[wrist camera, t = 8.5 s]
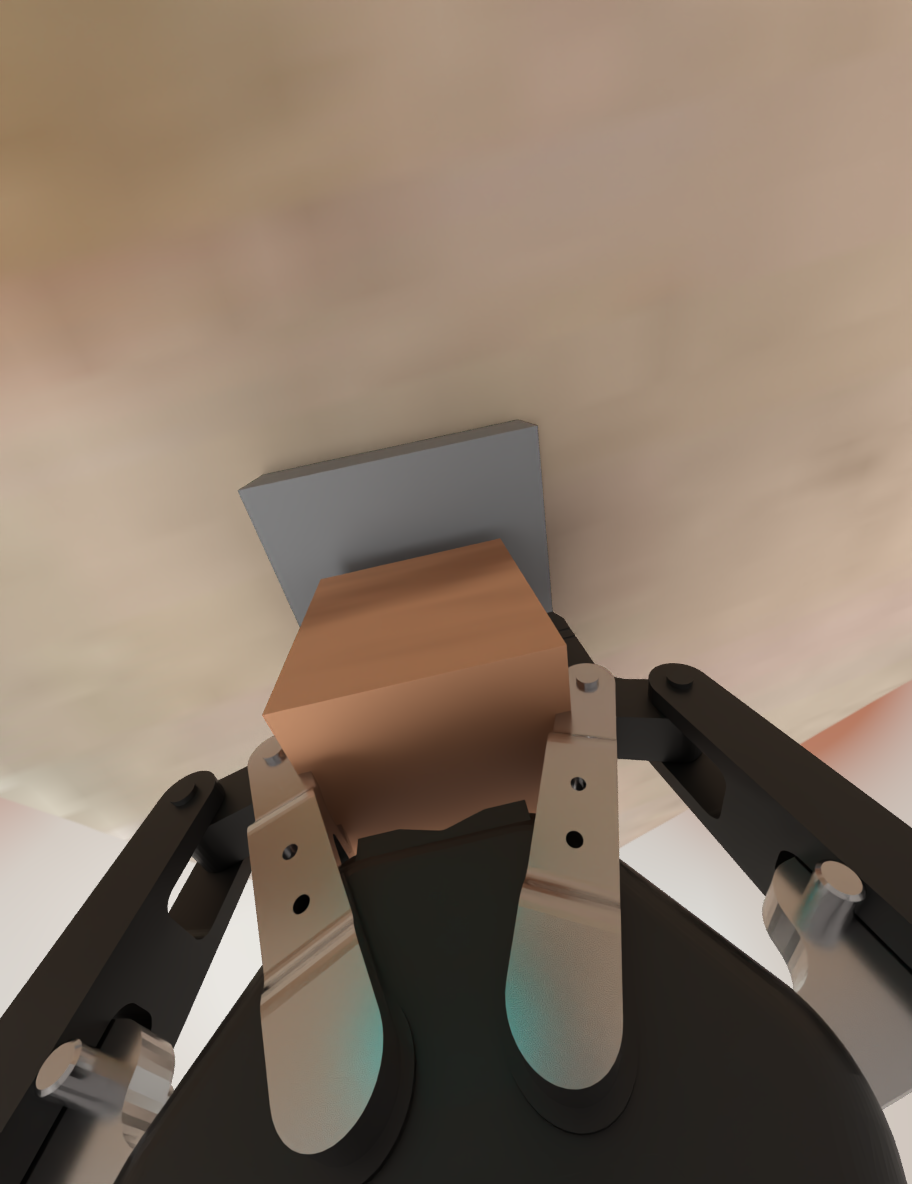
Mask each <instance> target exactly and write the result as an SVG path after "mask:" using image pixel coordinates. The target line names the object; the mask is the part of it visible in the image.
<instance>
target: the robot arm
mask: <svg viewBox="0 0 912 1184" xmlns="http://www.w3.org/2000/svg"><path fill="white" fill-rule="evenodd" d="M547 614H548V616H549V617H550V619H551V621H552V622H553V624H554V626H555V627H556V629H557V630H558V632H559V634H560V635H561V637H562V638H563V640H564V642H565V643H566V645H567V658H568V672H569V685H570V699H571V710H570V711H566V712H562V713H558V714H556V715H555V722H554V729H553V732H552V731H550V732H549V734H548V739H547V745H546V751H545V758H544V764H543V771H542V778H541V784H540V791H539V797H538V804H537V810H536V813H529V812H528V808H527V805H526V801H525V800H521V801H516V802H512V803H508V804H504V805H499V806H495V807H491V808H487V809H483V810H481V811H479V812H478V813H476V814H474V815H472V816H470V817H468V818H466V819H464V820H462V821H460V822H458V823H456V824H455V825H453V826H451V827H449V828H447V829H444V830H410V829H397V830H393V831H389V832H385V833H380V834H376V835H372V836H368V837H363V838H359V839H358V844H357V854H356V855H355V853H354V851H353V848H352V846H351V843H350V840H349V838H348V835H347V833H346V831H345V830H344V828H343V826H342V824H339V825H336V823H335V822H334V820H333V818H332V816H331V815H330V813H329V811H328V808H327V806H326V804H325V801H324V799H323V796H322V793H321V790H320V787H319V784H318V782H317V781H316V779H315V777H314V775H313V774H312V772H311V771H309V772H305V773H301V774H297V772H296V771H295V769H294V767H293V766H292V764H291V762H290V761H289V759H288V757H287V756H286V754H285V752H284V751H283V749H282V747H281V746H280V744H279V742H278V741H277V739H276V737H275V736H272V737H270V738H269V739H267V740H265V741H264V742H263V743H262V744H260V745H259V746H258V747H257V748H256V749H255V751H254V752H253V753H252V755H251V756H250V758H249V761H248V766H246V767H245V768H243V769H241V770H239V771H237V772H235V773H232V774H230V775H228V776H226V777H224V778H222V779H220V780H217V778H216V777H215V776H214V774H213V773H211V772H209V771H199V772H195V773H192V774H190V775H188V776H186V777H184V778H182V779H181V780H179V781H178V782H176V783H175V784H174V785H173V786H171V787H170V788H169V789H168V790H167V791H166V792H165V793H164V795H163V796H162V797H161V798H160V800H159V801H158V802H157V804H156V805H155V807H154V808H153V809H152V811H151V812H150V813H149V815H148V816H147V818H146V819H145V820H144V822H143V823H142V824H141V826H140V827H139V829H138V830H137V831H136V833H135V834H134V835H133V837H132V838H131V840H130V841H129V842H128V844H127V845H126V847H125V848H124V849H123V851H122V852H121V853H120V855H119V856H118V857H117V859H116V860H115V862H114V863H113V864H112V866H111V867H110V868H109V870H108V871H107V873H106V874H105V876H104V877H103V878H102V880H101V881H100V882H99V884H98V885H97V886H96V888H95V889H94V891H93V892H92V893H91V895H90V896H89V897H88V899H87V900H86V902H85V903H84V904H83V906H82V907H81V908H80V910H79V911H78V913H77V914H76V915H75V917H74V918H73V919H72V921H71V922H70V924H69V925H68V926H67V928H66V929H65V930H64V932H63V933H62V935H61V936H60V937H59V939H58V940H57V941H56V943H55V944H54V945H53V947H52V948H51V950H50V951H49V952H48V954H47V955H46V957H45V958H44V959H43V961H42V962H41V963H40V965H39V966H38V967H37V969H36V970H35V972H34V973H33V974H32V976H31V977H30V979H29V980H28V981H27V983H26V984H25V985H24V987H23V988H22V989H21V991H20V992H19V994H18V995H17V996H16V998H15V999H14V1000H13V1002H12V1003H11V1005H10V1006H9V1007H8V1009H7V1010H6V1012H5V1013H4V1014H3V1016H2V1017H1V1018H0V1184H907V1181H906V1178H905V1174H904V1170H903V1167H902V1163H901V1159H900V1156H899V1153H898V1149H897V1147H896V1144H895V1140H894V1137H893V1135H892V1132H891V1130H890V1128H889V1125H888V1123H887V1120H886V1118H885V1115H884V1113H883V1111H882V1110H883V1109H884V1108H886V1107H888V1106H889V1105H891V1104H893V1103H894V1102H896V1101H898V1100H899V1099H901V1098H903V1097H904V1096H906V1095H908V1094H909V1093H911V1092H912V828H911V827H910V826H908V825H907V824H906V823H904V822H903V821H902V820H900V819H899V818H898V817H896V816H895V815H894V814H892V813H891V812H890V811H888V810H887V809H886V808H884V807H883V806H882V805H880V804H879V803H877V802H876V801H875V800H874V799H872V798H871V797H869V796H868V795H867V794H865V793H864V792H863V791H861V790H860V789H859V788H857V787H856V786H855V785H853V784H852V783H851V782H849V781H848V780H847V779H845V778H844V777H843V776H841V775H840V774H839V773H837V772H836V771H834V770H833V769H832V768H830V767H829V766H828V765H826V764H825V763H824V762H822V761H821V760H820V759H818V758H817V757H816V756H814V755H813V754H812V753H810V752H809V751H808V750H806V749H805V748H804V747H802V746H801V745H800V744H798V743H797V742H796V741H794V740H793V739H792V738H790V737H789V736H788V735H786V734H785V733H783V732H782V731H781V730H779V729H778V728H777V727H775V726H774V725H773V724H771V723H770V722H769V721H767V720H766V719H765V718H763V717H762V716H761V715H759V714H758V713H757V712H755V711H754V710H753V709H751V708H750V707H749V706H747V705H746V704H745V703H743V702H742V701H741V700H739V699H738V698H736V697H735V696H734V695H732V694H731V693H730V692H728V691H727V690H726V689H724V688H723V687H722V686H720V685H719V684H718V683H716V682H715V681H714V680H712V679H711V678H710V677H708V676H707V675H706V674H704V673H703V672H701V671H700V670H698V669H696V668H694V667H691V666H688V665H684V664H678V663H668V664H663V665H659V666H657V667H655V668H654V669H653V670H652V671H651V672H650V674H649V679H621V678H616V677H614V676H613V675H612V673H611V672H610V671H609V670H607V669H606V668H604V667H602V666H599V665H596V664H594V662H593V661H592V660H591V658H590V657H589V655H588V654H587V652H586V651H585V649H584V648H583V646H582V645H581V643H580V642H579V640H578V639H577V637H575V634H574V633H573V632H572V630H571V629H570V627H569V626H568V624H567V623H566V621H565V620H564V618H562V617H560V616H559V615H557V614H555V613H554V612H548V613H547ZM617 759H631V760H646V761H649V762H650V763H651V764H652V766H653V767H654V768H655V769H656V770H657V771H658V772H659V774H660V775H661V776H662V777H663V778H664V779H665V781H666V782H667V783H668V784H669V785H670V786H671V788H672V789H673V790H674V791H675V792H676V793H677V794H678V796H679V797H680V798H681V799H682V800H683V801H684V803H685V804H686V805H687V806H688V807H689V808H690V810H691V811H692V812H693V813H694V814H695V815H696V816H697V818H698V819H699V820H700V821H701V822H702V823H703V825H704V826H705V827H706V828H707V829H708V830H709V832H710V833H711V834H712V835H713V836H714V837H715V839H717V841H718V842H719V843H720V844H721V845H722V846H723V848H724V849H725V850H726V851H727V852H728V854H729V855H730V856H731V857H732V858H733V859H734V860H735V862H736V863H737V864H738V865H739V866H740V868H741V869H742V870H743V871H744V872H745V873H746V874H747V875H748V877H749V878H750V879H751V880H752V881H753V883H754V884H755V885H756V886H757V887H758V888H759V890H760V891H761V892H762V893H763V894H764V895H765V896H766V897H765V900H764V903H763V907H762V915H763V921H764V924H765V927H766V930H767V932H768V934H769V936H770V938H771V940H772V941H773V942H774V944H775V945H776V947H777V948H778V950H779V952H780V953H781V955H782V956H783V958H784V960H785V962H786V964H787V966H788V969H789V971H790V974H791V978H792V982H793V989H792V988H790V987H789V986H788V985H787V984H785V983H784V982H782V981H781V980H780V979H779V978H777V977H776V976H774V975H773V974H772V973H771V972H769V971H768V970H767V969H765V968H764V967H763V966H761V965H760V964H759V963H757V962H756V961H755V960H753V959H752V958H751V957H749V956H748V955H747V954H745V953H744V952H743V951H741V950H740V949H739V948H737V947H736V946H735V945H733V944H732V943H731V942H729V941H728V940H727V939H725V938H724V937H723V936H722V935H720V934H719V933H717V932H716V931H715V930H714V929H712V928H711V927H709V926H708V925H707V924H706V923H704V922H703V921H702V920H700V919H699V918H698V917H696V916H695V915H694V914H692V913H691V912H690V911H688V910H687V909H686V908H684V907H683V906H681V905H680V904H679V903H678V902H676V901H675V900H674V899H672V898H671V897H670V896H668V895H667V894H666V893H664V892H663V891H662V890H660V889H659V888H658V887H656V886H655V885H654V884H652V883H651V882H650V881H649V880H647V879H646V878H645V877H643V876H642V875H641V874H639V873H638V872H637V871H635V870H634V869H633V868H631V867H630V866H628V865H627V864H626V863H625V862H623V861H622V860H621V859H619V823H618V775H617ZM191 856H192V857H193V858H194V859H195V860H196V861H197V863H196V865H195V867H194V868H193V870H192V872H191V874H190V876H189V878H188V879H187V881H186V883H185V884H184V886H183V888H182V890H181V892H180V893H179V895H178V897H177V899H176V901H175V903H174V904H173V906H172V908H171V910H170V911H169V913H168V908H167V905H168V899H169V896H170V894H171V891H172V889H173V887H174V886H175V884H176V882H177V881H178V879H179V877H180V875H181V874H182V872H183V870H184V869H185V867H186V865H187V863H188V862H189V860H190V858H191ZM251 871H252V880H253V888H254V896H255V905H256V913H257V922H258V930H259V938H260V946H261V955H262V964H263V965H262V966H261V968H260V969H259V970H258V972H257V973H256V975H255V976H254V978H253V979H252V980H251V982H250V983H249V985H248V986H247V988H246V989H245V991H244V992H243V993H242V995H241V996H240V998H239V999H238V1000H237V1002H236V1003H235V1005H234V1006H233V1008H232V1009H231V1011H230V1012H229V1014H228V1015H227V1016H226V1017H225V1019H224V1020H223V1022H222V1023H221V1025H220V1026H219V1027H218V1029H217V1030H216V1032H215V1033H214V1035H213V1036H212V1037H211V1039H210V1040H209V1042H208V1043H207V1045H206V1046H205V1047H204V1049H203V1050H202V1052H201V1053H200V1054H199V1056H198V1058H197V1059H196V1060H195V1062H194V1063H193V1065H192V1066H191V1067H190V1069H189V1070H188V1072H187V1073H186V1074H185V1076H184V1077H183V1079H182V1080H181V1082H180V1083H179V1085H178V1086H177V1087H176V1089H175V1090H174V1089H173V1087H172V1085H171V1082H172V1078H173V1074H174V1066H175V1055H174V1050H173V1049H174V1046H175V1044H176V1042H177V1039H178V1037H179V1035H180V1032H181V1030H182V1028H183V1026H184V1024H185V1021H186V1019H187V1017H188V1015H189V1012H190V1010H191V1007H192V1005H193V1003H194V1001H195V999H196V996H197V994H198V992H199V989H200V987H201V985H202V983H203V980H204V978H205V976H206V974H207V971H208V969H209V967H210V964H211V962H212V960H213V957H214V955H215V953H216V951H217V948H218V946H219V944H220V942H221V939H222V937H223V935H224V933H225V930H226V928H227V926H228V924H229V921H230V919H231V917H232V914H233V912H234V910H235V908H236V905H237V903H238V901H239V899H240V896H241V894H242V892H243V889H244V887H245V884H246V883H247V880H248V878H249V876H250V874H251Z"/></svg>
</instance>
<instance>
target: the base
mask: <svg viewBox="0 0 912 1184" xmlns="http://www.w3.org/2000/svg"><path fill="white" fill-rule="evenodd" d="M238 492H239V495H240V497H241V499H242V501H243V503H244V506H245V508H246V510H247V512H248V514H249V517H250V519H251V521H252V523H253V525H254V528H255V530H256V532H257V534H258V536H259V539H260V541H261V543H262V545H263V547H264V550H265V552H266V554H267V556H268V558H269V561H270V563H271V565H272V567H273V569H274V572H275V574H276V576H277V578H278V580H279V583H280V585H281V587H282V589H283V591H284V594H285V596H286V598H287V600H288V602H289V605H290V607H291V609H292V611H293V613H294V615H295V618H296V620H297V622H298V624H299V626H301V624H302V622H303V619H304V617H305V615H306V612H307V610H308V608H309V605H310V603H311V601H312V598H313V596H314V594H315V591H316V589H317V587H318V584H319V582H320V580H321V579H324V578H329V577H333V576H338V575H342V574H346V573H351V572H355V571H359V570H364V569H368V568H373V567H377V566H381V565H386V564H390V563H394V562H399V561H403V560H407V559H412V558H416V557H421V556H425V555H429V554H434V553H438V552H442V551H447V550H451V549H456V548H460V547H464V546H469V545H473V544H477V543H482V542H486V541H491V540H495V539H499V538H500V539H501V540H502V542H503V544H504V545H505V547H506V548H507V550H508V552H509V553H510V555H511V556H512V558H513V560H514V561H515V563H516V565H517V566H518V568H519V569H520V571H521V573H522V574H523V576H524V577H525V579H526V581H527V582H528V584H529V585H530V587H531V589H532V590H533V592H534V593H535V595H536V597H537V598H538V600H539V601H540V603H541V605H542V606H543V608H544V609H545V611H546V613H548V612H553V610H552V598H551V586H550V573H549V561H548V549H547V537H546V524H545V512H544V500H543V487H542V475H541V463H540V450H539V438H538V426H537V425H534V424H531V423H527V422H524V421H521V420H514V421H509V422H504V423H500V424H495V425H491V426H486V427H481V428H477V429H472V430H467V431H463V432H458V433H454V434H449V435H444V436H440V437H435V438H430V439H426V440H421V441H417V442H412V443H407V444H403V445H398V446H393V447H389V448H384V449H380V450H375V451H370V452H366V453H361V454H356V455H352V456H347V457H343V458H338V459H333V460H329V461H324V462H319V463H315V464H310V465H306V466H301V467H296V468H292V469H287V470H282V471H278V472H273V473H269V474H264V475H261V476H260V477H258V478H257V479H255V480H254V481H252V482H250V483H249V484H247V485H246V486H244V487H242V488H241V489H239V490H238Z"/></svg>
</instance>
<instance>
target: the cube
mask: <svg viewBox="0 0 912 1184" xmlns="http://www.w3.org/2000/svg"><path fill="white" fill-rule="evenodd" d="M570 710H571V699H570V685H569V672H568V658H567V645H566V643H565V642H564V640H563V638H562V637H561V635H560V634H559V632H558V630H557V629H556V627H555V626H554V624H553V622H552V621H551V619H550V617H549V616H548V614H547V613H546V611H545V609H544V608H543V606H542V605H541V603H540V601H539V600H538V598H537V597H536V595H535V593H534V592H533V590H532V589H531V587H530V585H529V584H528V582H527V581H526V579H525V577H524V576H523V574H522V573H521V571H520V569H519V568H518V566H517V565H516V563H515V561H514V560H513V558H512V556H511V555H510V553H509V552H508V550H507V548H506V547H505V545H504V544H503V542H502V540H501V539H500V538H499V539H495V540H491V541H486V542H482V543H477V544H473V545H469V546H464V547H460V548H456V549H451V550H447V551H442V552H438V553H434V554H429V555H425V556H421V557H416V558H412V559H407V560H403V561H399V562H394V563H390V564H386V565H381V566H377V567H373V568H368V569H364V570H359V571H355V572H351V573H346V574H342V575H338V576H333V577H329V578H324V579H321V580H320V582H319V584H318V587H317V589H316V591H315V594H314V596H313V598H312V601H311V603H310V605H309V608H308V610H307V612H306V615H305V617H304V619H303V622H302V624H301V626H300V629H299V631H298V633H297V636H296V638H295V640H294V643H293V645H292V647H291V649H290V652H289V654H288V656H287V659H286V661H285V663H284V666H283V668H282V670H281V673H280V675H279V677H278V680H277V682H276V684H275V687H274V689H273V691H272V694H271V696H270V698H269V701H268V703H267V705H266V708H265V710H264V712H263V715H262V716H263V717H264V719H265V721H266V722H267V724H268V726H269V727H270V729H271V731H272V732H273V734H274V736H275V737H276V739H277V741H278V742H279V744H280V746H281V747H282V749H283V751H284V752H285V754H286V756H287V757H288V759H289V761H290V762H291V764H292V766H293V767H294V769H295V771H296V772H297V774H301V773H305V772H309V771H311V772H312V774H313V775H314V777H315V779H316V781H317V782H318V784H319V787H320V790H321V793H322V796H323V799H324V801H325V804H326V806H327V808H328V811H329V813H330V815H331V816H332V818H333V820H334V822H335V823H336V825H339V824H342V826H343V828H344V830H345V831H346V833H347V835H348V838H349V840H350V843H351V846H352V848H353V851H354V853H355V855H356V854H357V844H358V839H359V838H363V837H368V836H372V835H376V834H380V833H385V832H389V831H393V830H397V829H410V830H444V829H447V828H449V827H451V826H453V825H455V824H456V823H458V822H460V821H462V820H464V819H466V818H468V817H470V816H472V815H474V814H476V813H478V812H479V811H481V810H483V809H487V808H491V807H495V806H499V805H504V804H508V803H512V802H516V801H521V800H525V801H526V805H527V808H528V812H529V813H536V810H537V804H538V797H539V791H540V784H541V778H542V771H543V764H544V758H545V751H546V745H547V739H548V734H549V732H550V731H552V732H553V729H554V722H555V715H556V714H558V713H562V712H566V711H570Z"/></svg>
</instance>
